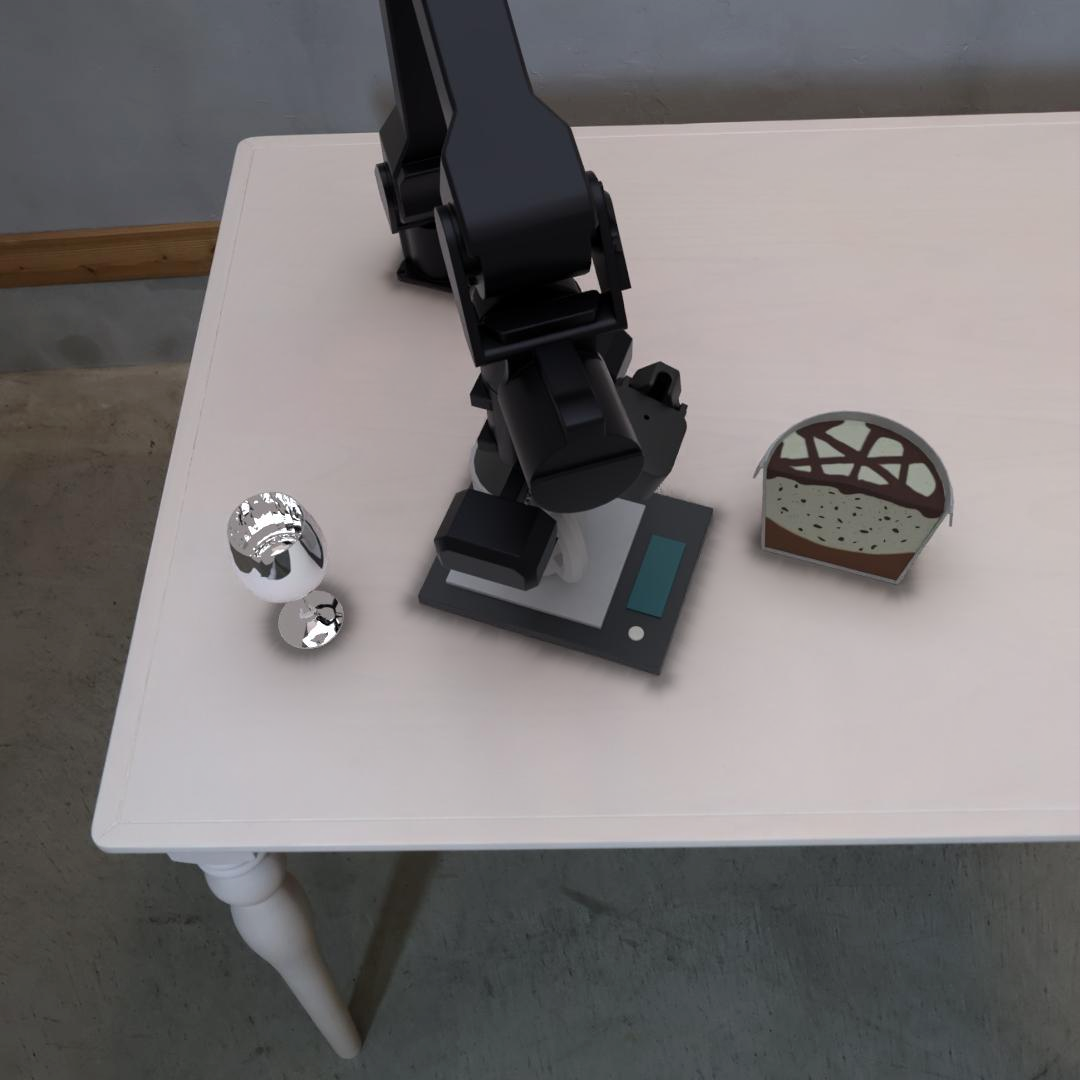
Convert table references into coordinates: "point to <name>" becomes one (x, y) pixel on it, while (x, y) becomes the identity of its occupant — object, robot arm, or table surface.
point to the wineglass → (285, 566)
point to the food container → (853, 494)
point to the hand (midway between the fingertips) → (545, 517)
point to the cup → (570, 527)
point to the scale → (598, 585)
